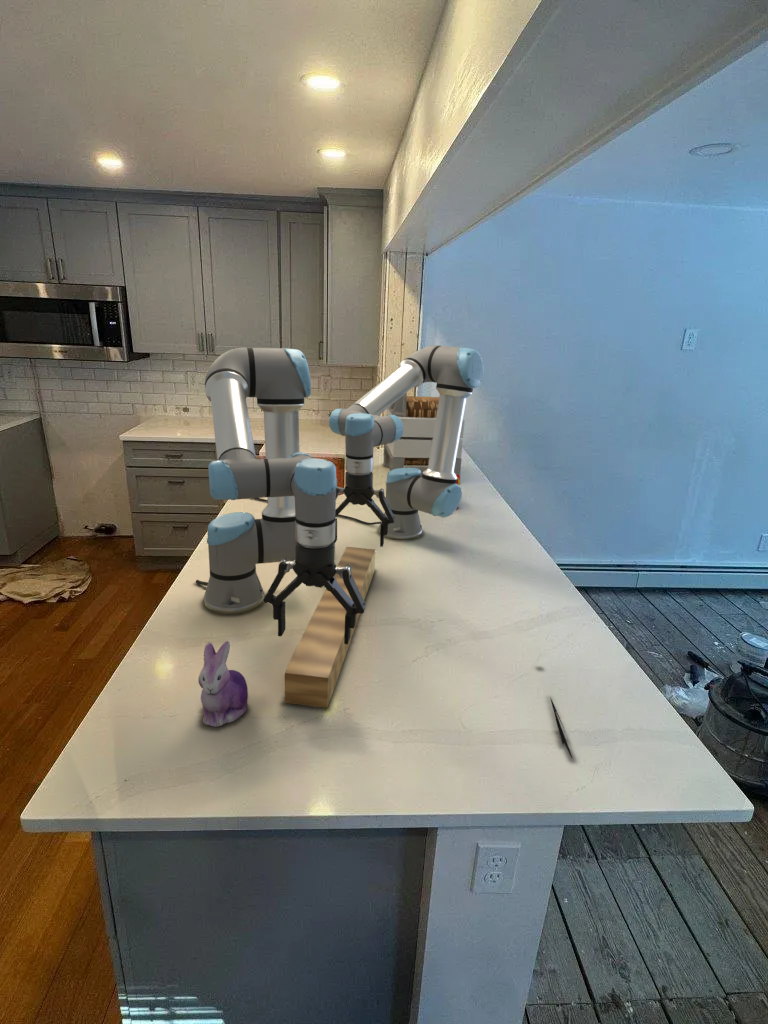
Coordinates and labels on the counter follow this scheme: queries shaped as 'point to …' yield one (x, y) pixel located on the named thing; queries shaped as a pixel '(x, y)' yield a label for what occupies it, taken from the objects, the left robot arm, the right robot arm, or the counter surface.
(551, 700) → the feather
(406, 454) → the white slatted crate
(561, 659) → the counter surface
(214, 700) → the figurine
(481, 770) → the counter surface
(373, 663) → the counter surface
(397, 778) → the counter surface
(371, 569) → the wide beam
